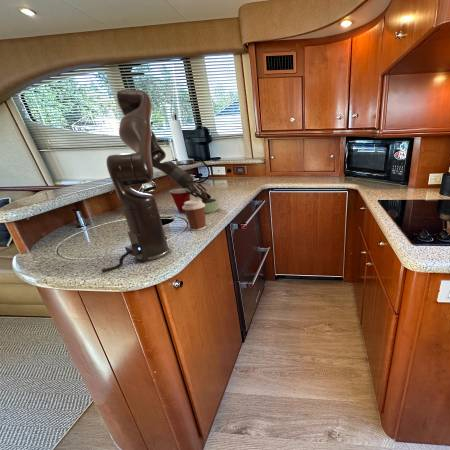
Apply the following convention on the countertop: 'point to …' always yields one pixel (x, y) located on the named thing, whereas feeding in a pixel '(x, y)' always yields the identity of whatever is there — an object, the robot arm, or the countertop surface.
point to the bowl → (211, 206)
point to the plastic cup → (180, 198)
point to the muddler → (205, 196)
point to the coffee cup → (195, 214)
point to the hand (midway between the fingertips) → (208, 199)
